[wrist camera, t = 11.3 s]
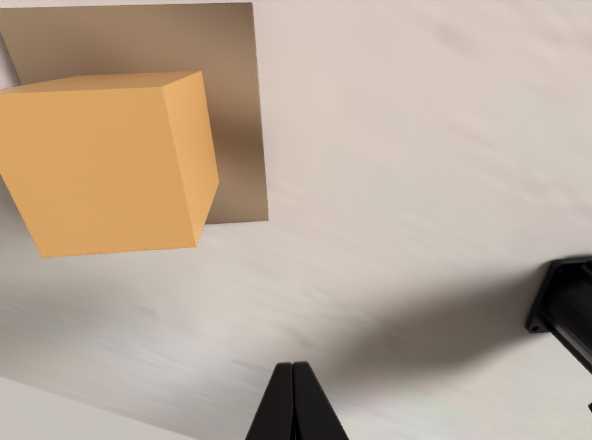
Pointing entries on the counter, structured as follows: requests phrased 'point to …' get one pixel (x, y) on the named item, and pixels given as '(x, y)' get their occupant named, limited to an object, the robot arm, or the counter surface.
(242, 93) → the walnut base
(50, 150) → the tan wooden cube
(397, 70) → the counter surface
